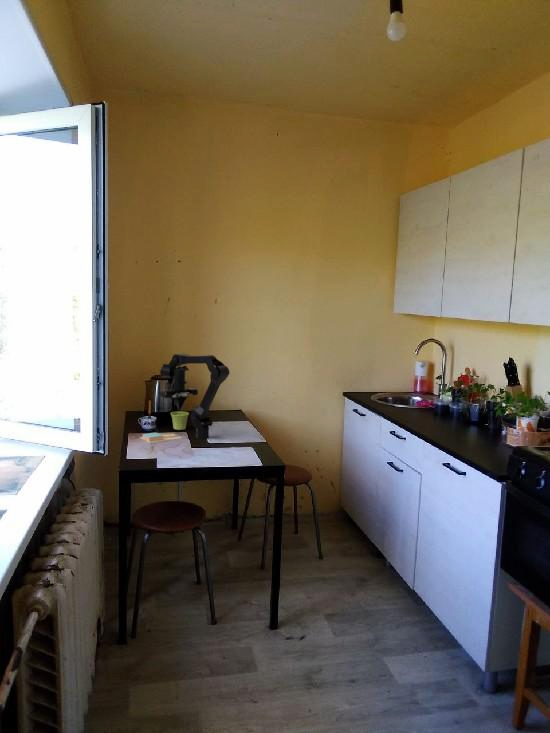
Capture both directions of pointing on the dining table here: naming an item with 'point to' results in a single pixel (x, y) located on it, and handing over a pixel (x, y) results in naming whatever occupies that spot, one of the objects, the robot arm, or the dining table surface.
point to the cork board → (165, 437)
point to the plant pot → (179, 420)
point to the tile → (152, 437)
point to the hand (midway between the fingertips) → (179, 409)
